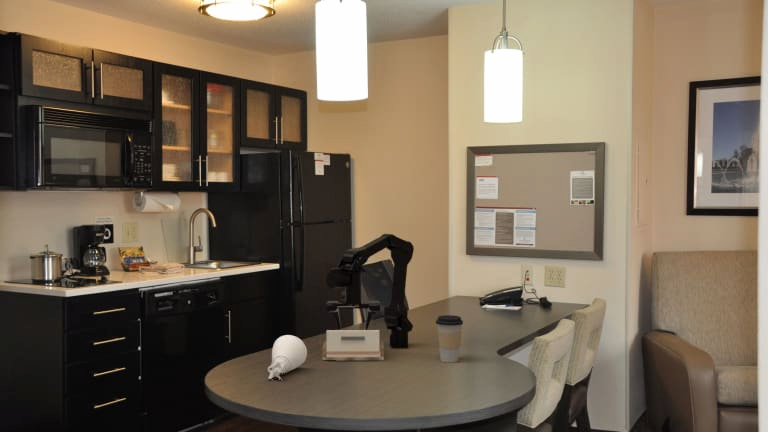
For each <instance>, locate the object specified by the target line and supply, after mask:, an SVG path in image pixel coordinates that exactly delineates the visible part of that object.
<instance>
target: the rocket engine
mask: <svg viewBox="0 0 768 432" xmlns="http://www.w3.org/2000/svg"><path fill="white" fill-rule="evenodd" d="M307 356H308V349H307V347H306V345H305V342H303V340H301V339H300V338H299V337H298V336H294V335H291V334H286V335H281V336H279V337H278V338H277V339H276V340H275V341H274V343H273V345H272V350H271V364H270V366H268V367H267V372H268V373H269V376H268V379H272V378H273V377H278V378H279V379H278V380H280V379H281V378H282V377H281V376H280V375H284V374H287V373H289V372H290V371H293V370H295V369H297V368H298V367H300V366H301V365H302V364H303V363H305V361H306V359H307ZM280 373H282V374H280ZM283 373H284V374H283ZM268 379H267V380H268ZM272 380H273V379H272ZM281 380H282V379H281Z"/></svg>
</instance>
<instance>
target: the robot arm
mask: <svg viewBox="0 0 768 432" xmlns="http://www.w3.org/2000/svg"><path fill="white" fill-rule="evenodd" d="M384 249H387V250H388V251H390V258H391V261H392V262H393V274H392V284H391V285H392V286H391V295H390V296H391V297H390V303H389V304H388V306H384V309H383V311H384V312H383V317H382V318H384V323H385V326H386V329H387V330H390V333H389V334H388V335H389V339H388V341H389V342H388V343H389V346H390V348H391V349H408V348H409V333H410V332H412V331H413V327H414V325H413V324H412V322H411V321H410V320H409V318H408V309H407V308H406V305H405V295H406V286H407V285H406V283H407V275H408V274H407V273H408V272H407V271H408V266H409V264H410V263H411V261H412V259H413V254H414V251H415V250H414V249H415V248H414V245H413V243H412V242H411V241H409V240H405V239H402V238H400V237H398V236H396V235H394V234H393V233H383V234H382V235H380V236H378V237H377V238H375V239H372V241H370V242H368V243H365V244H364V245H362V246H360V247H354V248H350V249H346V250H344V252H343V254H342V256H341V259H340V260H339V262H338V264H337V266H336V268H332V267H331V268H330V270H329V272H328V274H327V275H326V278H325V282H326V285H327V287H328V288H329V289H333V290H334V289H341V288H344V290H342V291H341V301H344V302H339V301H338V300H327V301H326V303H325V304H326V305H325V309H326V310H325V311H326V312H329V314H332V315H333V317H334V319H335V322H336V324H337V327H338V330H342V324H341V317H340V310H341V309H342V310H343V309H348V310H349V309H351V310H352V309H355V310H356V309H360V310H361V309H365V310H366V309H367V315H366V322H365V330H369V329H368V328H369V325H370V323H371V319H372V317H373V315H374V314H377V312H380V311H381V302H380V300H368V302H366V303H362V301H363V299H362V298H363V296H362V274H364V273H367V270H366V269H365V268H364V267H363V266H364V265H365V264H366V263H367V262H368V261H369V258H370V257H372V256H375V255H376V254H378V253H380V252H381V251H383V250H384Z"/></svg>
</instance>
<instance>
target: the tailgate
mask: <svg viewBox="0 0 768 432" xmlns="http://www.w3.org/2000/svg"><path fill="white" fill-rule="evenodd" d="M326 341H327V351H326V354H327V357H379V349H380V329H374V330H373V329H367V330H366V329H362V330H361V329H355V330H354V329H353V330H352V329H347V330H346V329H345V330H344V329H341V330H339V329H338V330H337V329H335V330H332V329H330V330H329V329H327V330H326Z"/></svg>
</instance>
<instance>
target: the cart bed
mask: <svg viewBox="0 0 768 432" xmlns="http://www.w3.org/2000/svg"><path fill="white" fill-rule="evenodd" d="M321 350H322V351H321V352H322V353H321V355H322V356H321V357H322V358H321V359H323V360H336V361H385V358H384V357H385V355H384V354H385V353H384V351H385V350H384V341H383V340H379V357H327V354H326V351H327V340H324V341H323V346H322V348H321Z"/></svg>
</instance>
